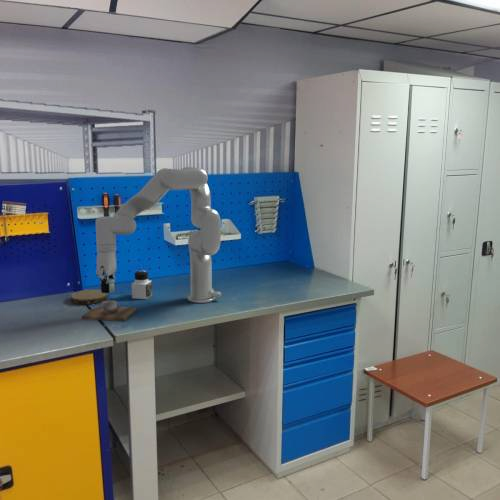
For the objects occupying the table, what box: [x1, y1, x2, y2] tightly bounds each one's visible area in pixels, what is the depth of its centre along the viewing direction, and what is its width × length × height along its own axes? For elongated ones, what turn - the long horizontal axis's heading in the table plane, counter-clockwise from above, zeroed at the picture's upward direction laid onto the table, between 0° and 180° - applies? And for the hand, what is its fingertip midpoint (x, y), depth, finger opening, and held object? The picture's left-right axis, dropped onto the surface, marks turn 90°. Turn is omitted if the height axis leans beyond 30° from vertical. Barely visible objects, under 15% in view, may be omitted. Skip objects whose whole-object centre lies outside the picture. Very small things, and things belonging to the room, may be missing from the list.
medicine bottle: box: [130, 270, 153, 300], centre depth 237 cm, size 7×7×12 cm
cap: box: [108, 278, 116, 294], centre depth 211 cm, size 5×5×5 cm
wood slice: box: [70, 288, 109, 306], centre depth 233 cm, size 16×16×3 cm
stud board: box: [81, 299, 138, 322], centre depth 213 cm, size 18×14×5 cm
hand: (108, 290), depth 211 cm, fingers closed on cap, 5 cm apart
